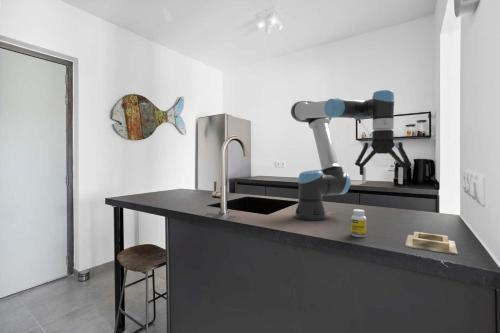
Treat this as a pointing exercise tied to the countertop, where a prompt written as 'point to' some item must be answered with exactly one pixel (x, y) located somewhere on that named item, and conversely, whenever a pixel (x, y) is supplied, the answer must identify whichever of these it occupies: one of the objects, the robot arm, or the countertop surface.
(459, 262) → the countertop surface
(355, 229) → the supplement bottle
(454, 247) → the beige square tray
